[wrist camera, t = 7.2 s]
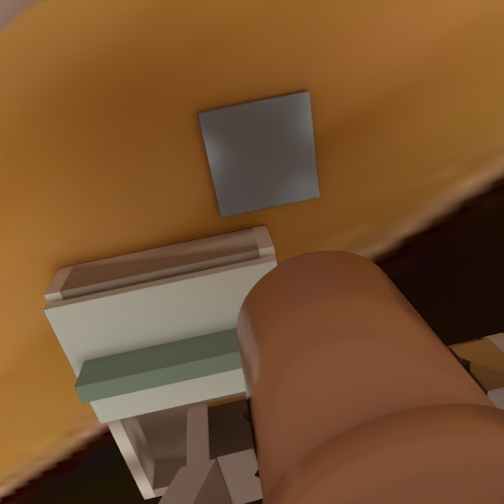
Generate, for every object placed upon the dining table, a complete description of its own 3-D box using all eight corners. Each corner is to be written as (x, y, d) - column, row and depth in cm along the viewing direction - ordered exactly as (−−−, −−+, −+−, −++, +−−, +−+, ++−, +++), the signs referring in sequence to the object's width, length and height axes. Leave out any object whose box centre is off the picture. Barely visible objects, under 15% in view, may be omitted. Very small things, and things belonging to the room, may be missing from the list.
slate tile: (317, 194, 29) (319, 197, 29) (220, 214, 29) (221, 217, 29) (307, 90, 26) (309, 91, 25) (197, 112, 26) (197, 113, 25)
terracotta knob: (406, 369, 15) (564, 609, 8) (246, 407, 14) (288, 682, 8) (404, 221, 12) (637, 418, 6) (207, 266, 12) (226, 520, 6)
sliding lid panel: (294, 373, 32) (303, 404, 29) (102, 415, 31) (93, 452, 28) (274, 255, 27) (283, 279, 24) (47, 303, 26) (29, 334, 24)
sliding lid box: (301, 429, 40) (309, 461, 37) (148, 463, 40) (144, 499, 37) (265, 224, 30) (274, 246, 27) (59, 268, 29) (43, 295, 26)
